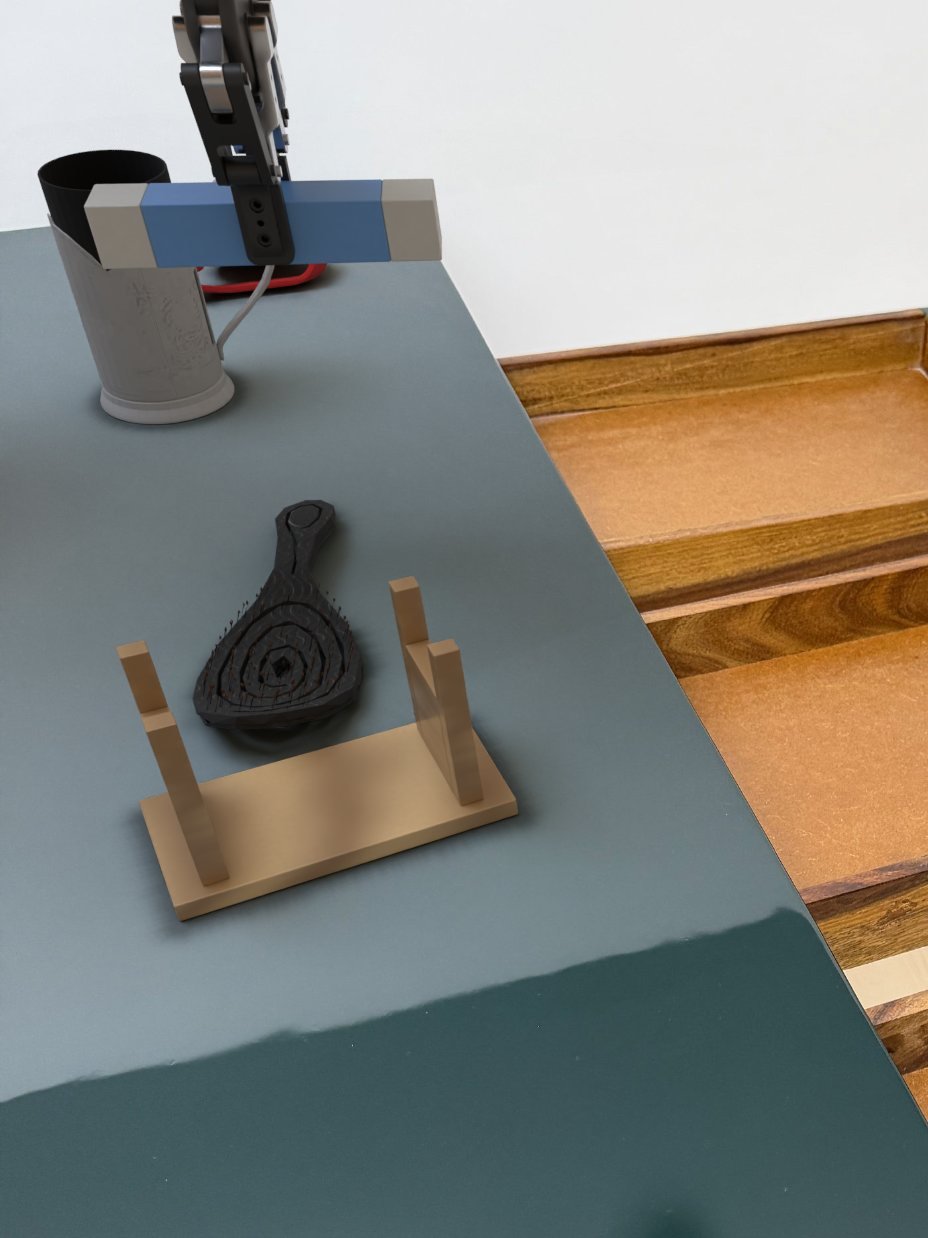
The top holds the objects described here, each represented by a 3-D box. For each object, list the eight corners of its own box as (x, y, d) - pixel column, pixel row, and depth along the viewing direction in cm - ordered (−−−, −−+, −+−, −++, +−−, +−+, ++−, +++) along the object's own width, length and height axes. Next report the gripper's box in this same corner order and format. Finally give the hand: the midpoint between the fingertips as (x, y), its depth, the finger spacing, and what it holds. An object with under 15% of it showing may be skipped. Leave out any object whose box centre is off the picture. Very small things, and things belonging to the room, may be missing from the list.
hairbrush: (375, 467, 88) (339, 695, 69) (385, 521, 90) (353, 755, 71) (235, 472, 86) (160, 707, 68) (249, 527, 89) (180, 767, 70)
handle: (102, 270, 68) (83, 205, 66) (112, 246, 70) (93, 183, 68) (442, 260, 71) (433, 199, 69) (442, 238, 73) (433, 178, 71)
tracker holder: (225, 231, 117) (335, 212, 115) (245, 287, 119) (352, 269, 117) (144, 250, 107) (262, 229, 105) (167, 311, 109) (283, 292, 107)
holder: (179, 922, 63) (112, 751, 56) (143, 815, 68) (77, 646, 61) (518, 814, 70) (495, 649, 63) (464, 723, 74) (436, 561, 68)
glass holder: (87, 381, 99) (12, 156, 89) (289, 343, 105) (241, 128, 95) (117, 434, 94) (42, 202, 84) (328, 391, 100) (282, 170, 90)
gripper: (112, -202, 63) (212, 199, 75) (52, -143, 53) (178, 309, 65) (289, -197, 64) (359, 197, 76) (261, -138, 54) (347, 303, 66)
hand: (275, 246), depth 70 cm, fingers closed on handle, 3 cm apart
